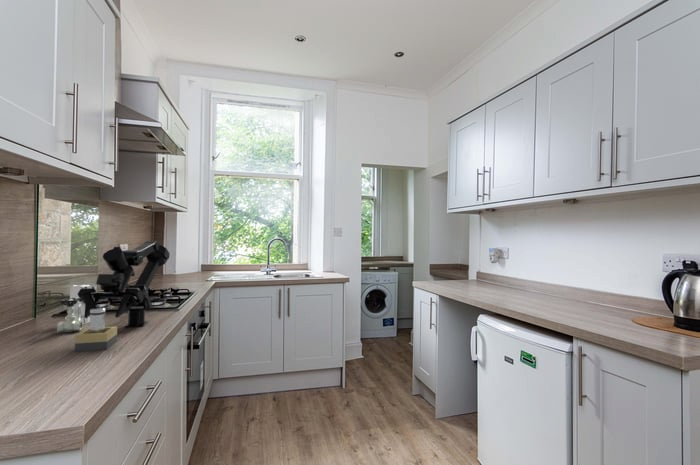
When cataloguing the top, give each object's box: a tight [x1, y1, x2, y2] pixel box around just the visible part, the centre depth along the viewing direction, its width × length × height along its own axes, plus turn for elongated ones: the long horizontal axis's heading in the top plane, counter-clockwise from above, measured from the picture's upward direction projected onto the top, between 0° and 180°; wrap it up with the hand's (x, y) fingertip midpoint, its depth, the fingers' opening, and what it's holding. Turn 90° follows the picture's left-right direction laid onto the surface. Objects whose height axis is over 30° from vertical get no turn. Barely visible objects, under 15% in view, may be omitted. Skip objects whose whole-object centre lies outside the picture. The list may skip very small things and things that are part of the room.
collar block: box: [74, 326, 118, 353], centre depth 108 cm, size 8×8×5 cm
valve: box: [56, 297, 84, 333], centre depth 123 cm, size 7×7×12 cm
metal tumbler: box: [89, 307, 107, 334], centre depth 108 cm, size 4×4×12 cm
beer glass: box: [69, 284, 93, 325], centre depth 135 cm, size 7×7×15 cm
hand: (101, 317), depth 110 cm, fingers open, 9 cm apart
